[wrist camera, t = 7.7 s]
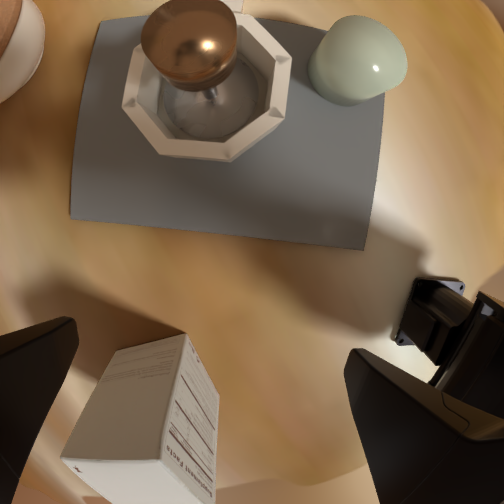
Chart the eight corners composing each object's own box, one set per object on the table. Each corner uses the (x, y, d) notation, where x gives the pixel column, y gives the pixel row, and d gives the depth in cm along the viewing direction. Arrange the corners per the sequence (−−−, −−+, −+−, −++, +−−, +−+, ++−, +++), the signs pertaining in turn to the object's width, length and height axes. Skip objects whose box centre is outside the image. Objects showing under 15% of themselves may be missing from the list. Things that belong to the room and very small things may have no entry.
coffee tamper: (263, 59, 16) (284, -23, 7) (252, 143, 17) (266, 116, 8) (173, 53, 15) (128, -24, 6) (159, 135, 17) (91, 109, 8)
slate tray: (382, 51, 17) (385, 49, 17) (360, 248, 21) (363, 250, 21) (104, 24, 15) (101, 21, 15) (74, 217, 20) (70, 219, 19)
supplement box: (152, 407, 25) (122, 513, 13) (114, 348, 23) (54, 456, 11) (222, 395, 25) (217, 516, 12) (189, 330, 23) (156, 461, 10)
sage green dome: (374, 55, 17) (406, 32, 12) (371, 114, 18) (406, 101, 13) (310, 37, 16) (329, 5, 12) (304, 97, 18) (324, 76, 13)
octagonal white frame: (284, 37, 16) (298, 3, 12) (268, 167, 19) (278, 166, 14) (166, 28, 16) (149, -5, 11) (143, 156, 18) (115, 152, 13)
